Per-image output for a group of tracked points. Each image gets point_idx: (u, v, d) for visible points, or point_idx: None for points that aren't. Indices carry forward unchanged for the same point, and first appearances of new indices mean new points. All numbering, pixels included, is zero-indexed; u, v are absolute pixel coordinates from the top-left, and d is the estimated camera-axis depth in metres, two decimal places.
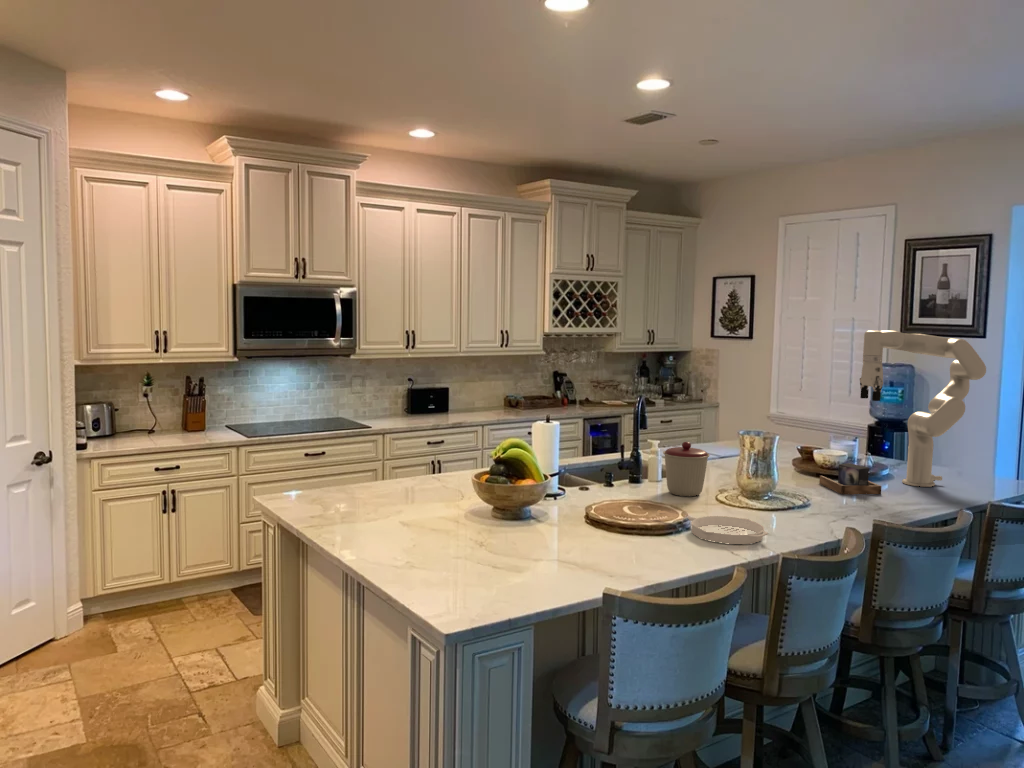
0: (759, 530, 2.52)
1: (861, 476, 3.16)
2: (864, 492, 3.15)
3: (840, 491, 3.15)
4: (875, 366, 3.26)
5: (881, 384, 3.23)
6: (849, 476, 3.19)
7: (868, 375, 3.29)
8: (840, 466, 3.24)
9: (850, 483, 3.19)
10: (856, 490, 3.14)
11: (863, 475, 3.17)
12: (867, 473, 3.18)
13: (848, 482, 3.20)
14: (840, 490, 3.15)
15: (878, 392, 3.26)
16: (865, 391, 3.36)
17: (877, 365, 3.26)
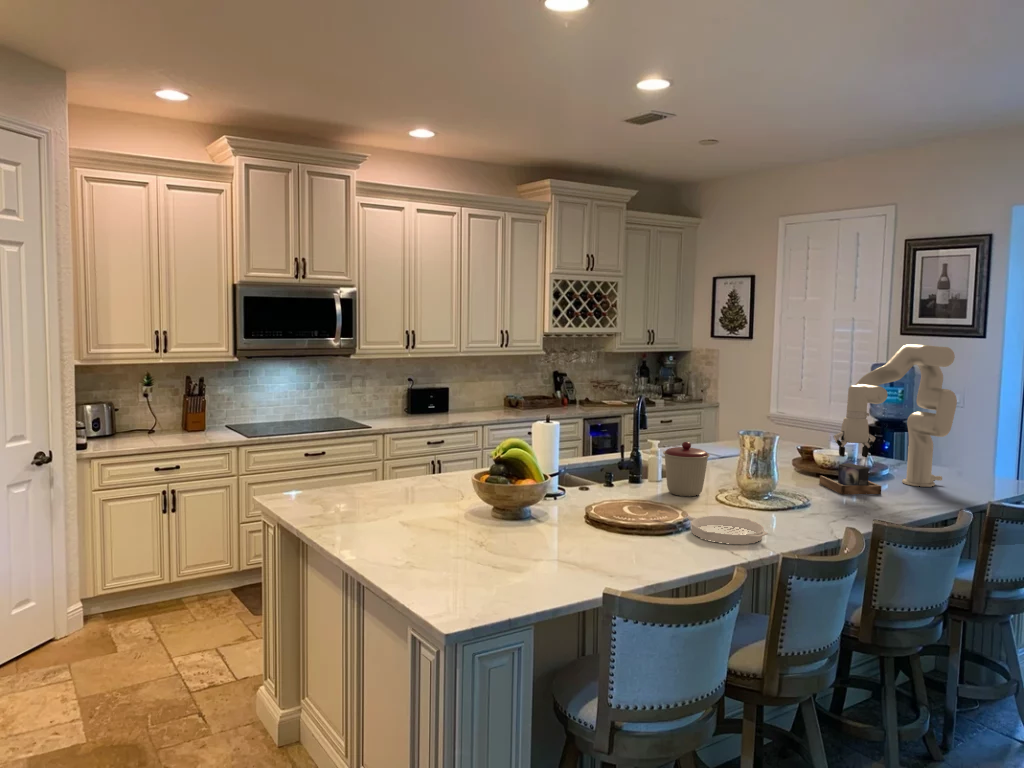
0: (759, 530, 2.52)
1: (861, 476, 3.16)
2: (864, 492, 3.15)
3: (840, 491, 3.15)
4: None
5: None
6: (849, 476, 3.19)
7: (862, 432, 3.18)
8: (840, 466, 3.24)
9: (850, 483, 3.19)
10: (856, 490, 3.14)
11: (863, 475, 3.17)
12: (867, 473, 3.18)
13: (848, 482, 3.20)
14: (840, 490, 3.15)
15: None
16: None
17: None
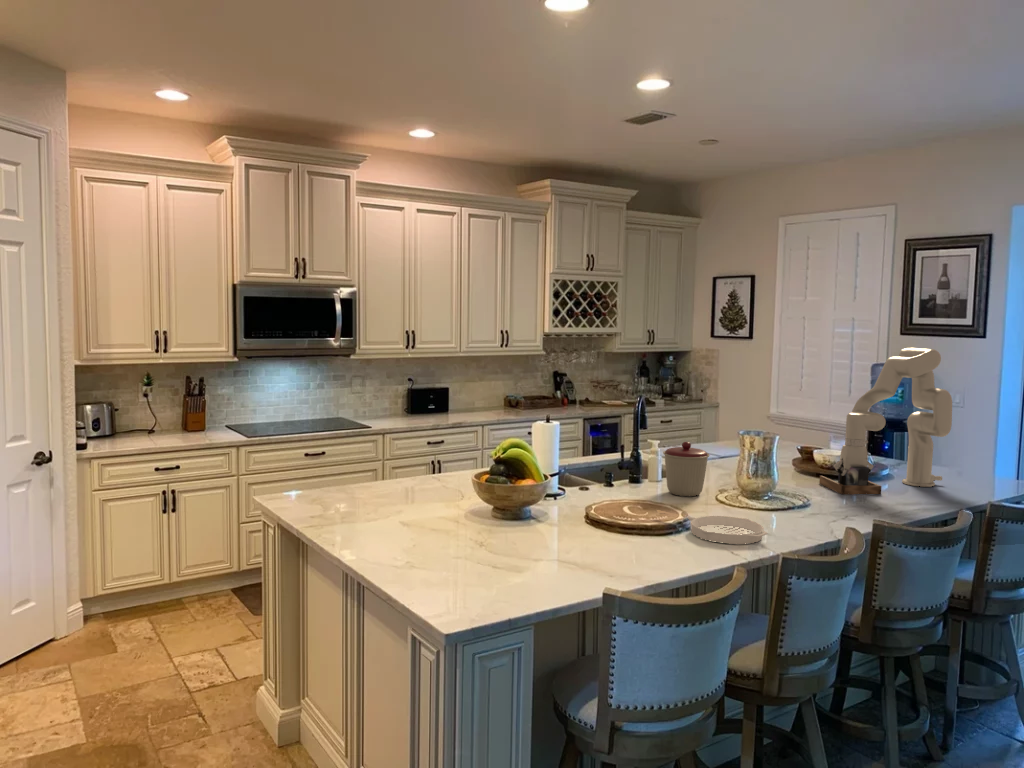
0: (758, 530, 2.52)
1: (860, 476, 3.16)
2: (864, 492, 3.15)
3: (840, 491, 3.15)
4: None
5: None
6: (849, 475, 3.19)
7: (861, 459, 3.19)
8: None
9: (850, 483, 3.19)
10: (856, 490, 3.14)
11: (863, 475, 3.17)
12: (867, 473, 3.18)
13: (848, 482, 3.20)
14: (840, 490, 3.15)
15: None
16: None
17: None
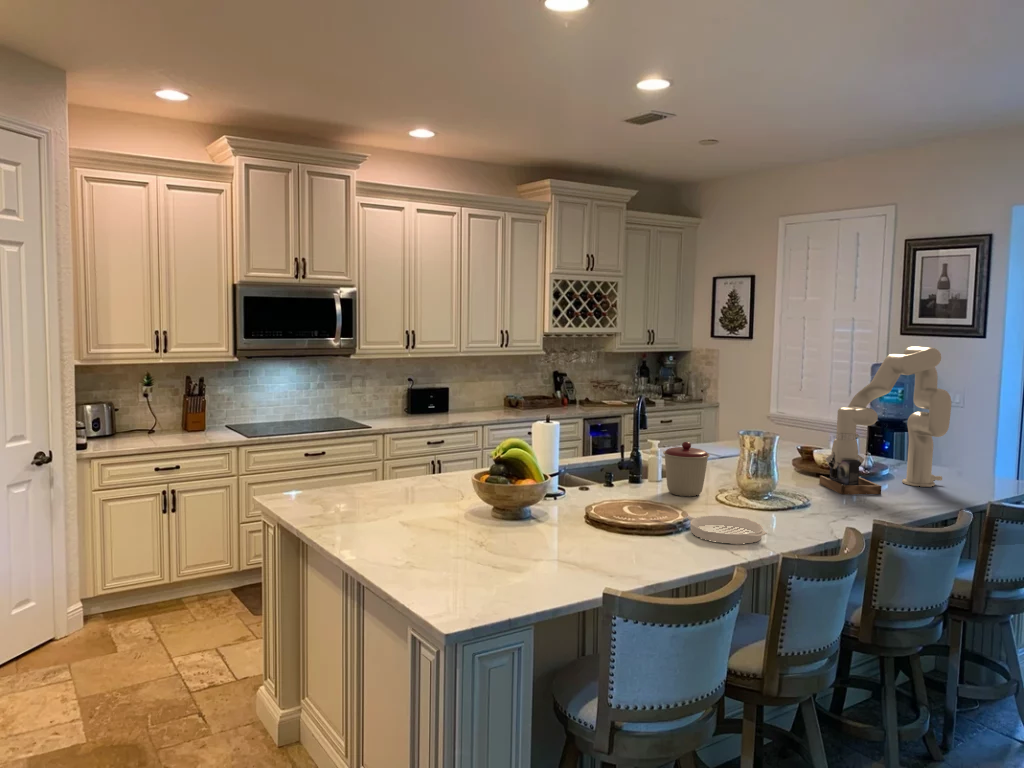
0: (758, 530, 2.53)
1: (851, 469, 3.24)
2: (864, 492, 3.15)
3: (840, 491, 3.15)
4: None
5: None
6: (840, 469, 3.27)
7: (852, 453, 3.27)
8: (832, 459, 3.32)
9: (841, 476, 3.27)
10: (856, 490, 3.14)
11: (854, 468, 3.25)
12: (858, 466, 3.26)
13: (839, 475, 3.28)
14: (840, 490, 3.15)
15: None
16: None
17: None
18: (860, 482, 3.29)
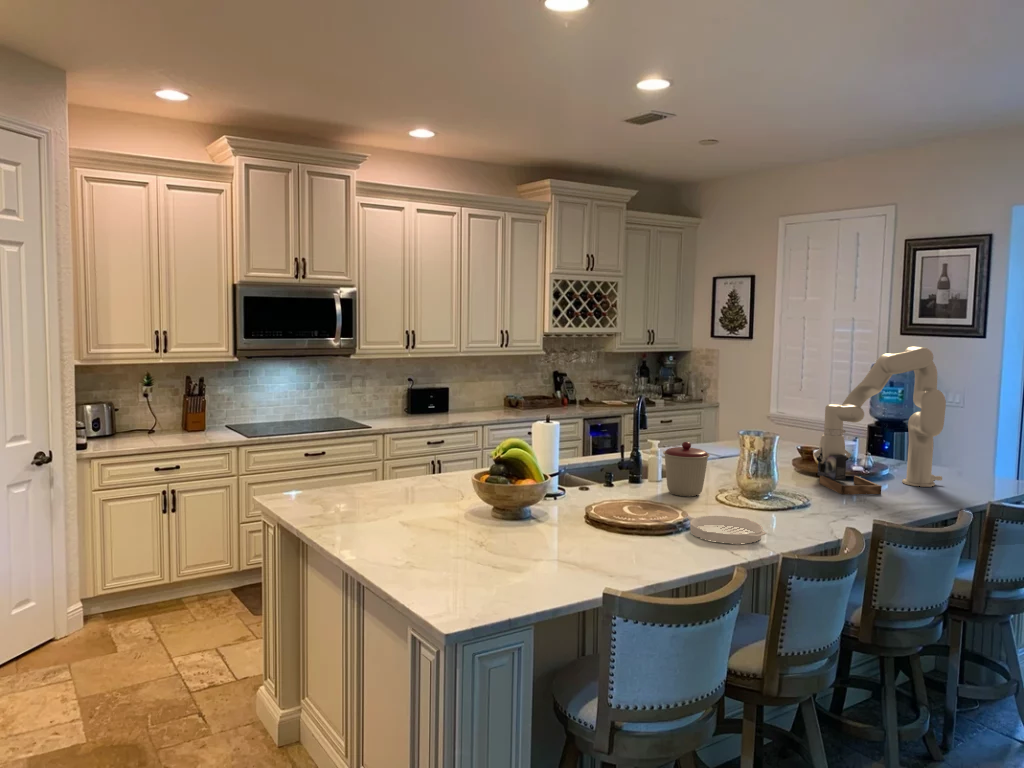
0: (757, 530, 2.53)
1: (838, 464, 3.35)
2: (864, 492, 3.15)
3: (840, 491, 3.15)
4: None
5: None
6: (828, 463, 3.38)
7: (839, 448, 3.38)
8: None
9: (828, 470, 3.38)
10: (856, 490, 3.14)
11: (841, 463, 3.36)
12: (844, 461, 3.37)
13: (827, 470, 3.39)
14: (840, 490, 3.15)
15: None
16: None
17: None
18: (860, 482, 3.29)
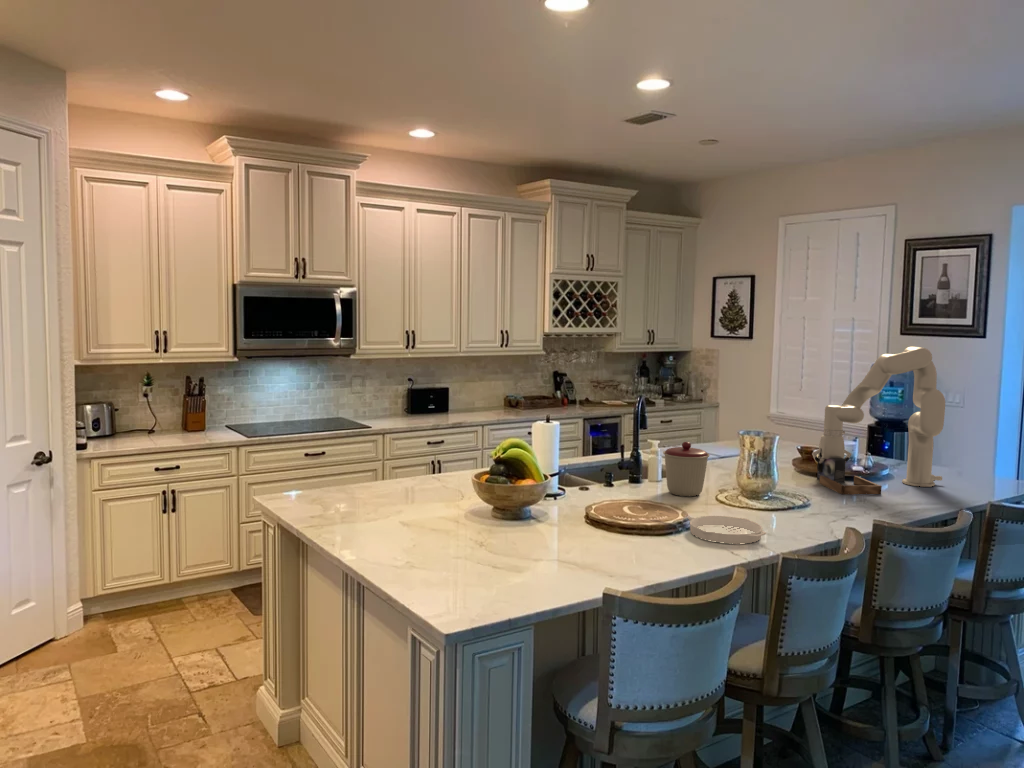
0: (757, 530, 2.53)
1: (837, 467, 3.35)
2: (864, 492, 3.15)
3: (840, 491, 3.15)
4: None
5: None
6: (827, 466, 3.39)
7: (838, 449, 3.38)
8: None
9: (827, 473, 3.38)
10: (856, 490, 3.14)
11: (840, 466, 3.36)
12: (844, 464, 3.37)
13: (826, 473, 3.39)
14: (840, 490, 3.15)
15: None
16: None
17: None
18: (860, 482, 3.29)
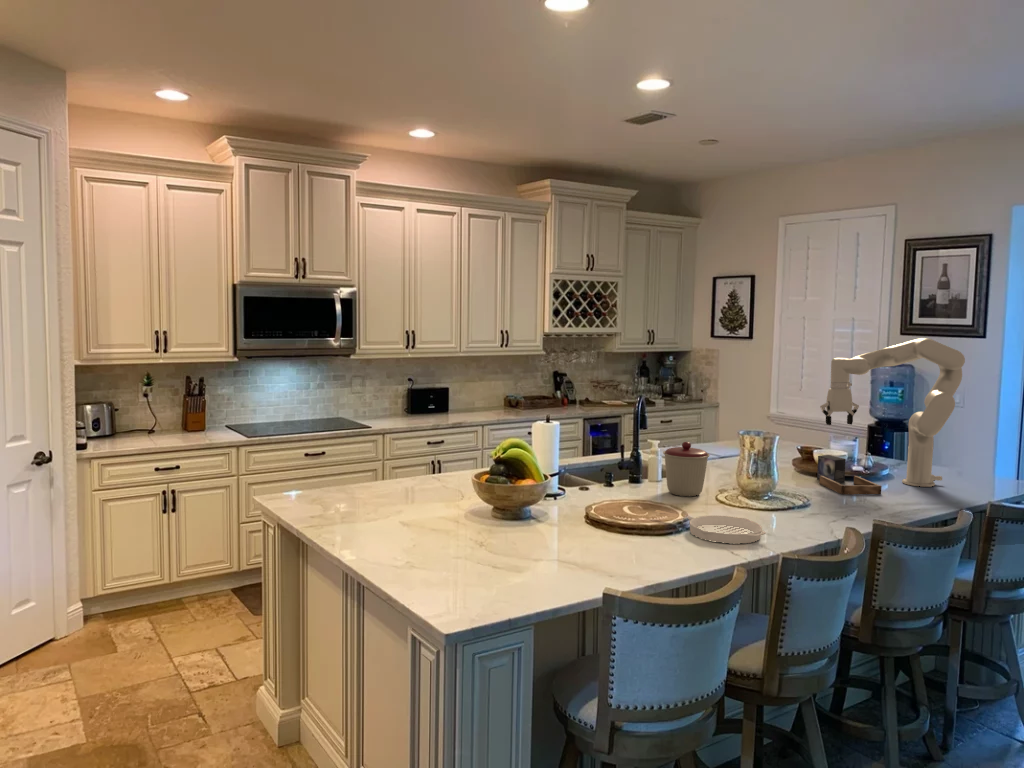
0: (757, 529, 2.53)
1: (837, 467, 3.35)
2: (864, 492, 3.15)
3: (840, 491, 3.15)
4: None
5: None
6: (827, 466, 3.39)
7: (846, 401, 3.39)
8: (819, 457, 3.43)
9: (827, 473, 3.38)
10: (856, 490, 3.14)
11: (840, 466, 3.36)
12: (844, 464, 3.37)
13: (826, 473, 3.39)
14: (840, 490, 3.15)
15: None
16: None
17: None
18: (860, 482, 3.29)
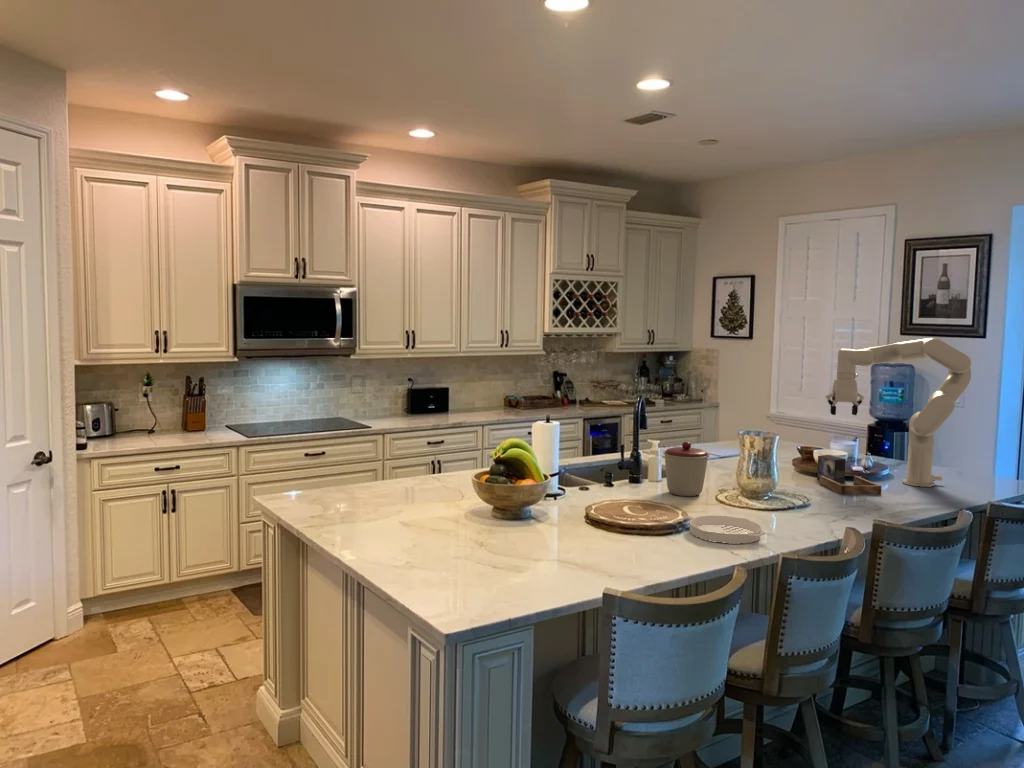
0: (757, 529, 2.53)
1: (837, 467, 3.35)
2: (864, 492, 3.15)
3: (840, 491, 3.15)
4: None
5: None
6: (827, 466, 3.39)
7: (851, 392, 3.43)
8: (819, 457, 3.43)
9: (827, 473, 3.38)
10: (856, 490, 3.14)
11: (840, 466, 3.36)
12: (844, 464, 3.37)
13: (826, 473, 3.39)
14: (840, 490, 3.15)
15: None
16: None
17: None
18: (860, 482, 3.29)
